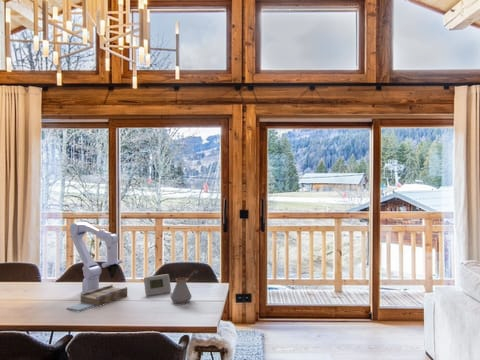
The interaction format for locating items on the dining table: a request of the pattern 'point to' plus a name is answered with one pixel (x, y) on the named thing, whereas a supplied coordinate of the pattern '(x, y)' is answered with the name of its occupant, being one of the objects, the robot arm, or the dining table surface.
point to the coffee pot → (181, 291)
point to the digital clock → (157, 284)
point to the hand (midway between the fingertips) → (112, 277)
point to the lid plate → (80, 306)
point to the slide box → (103, 295)
